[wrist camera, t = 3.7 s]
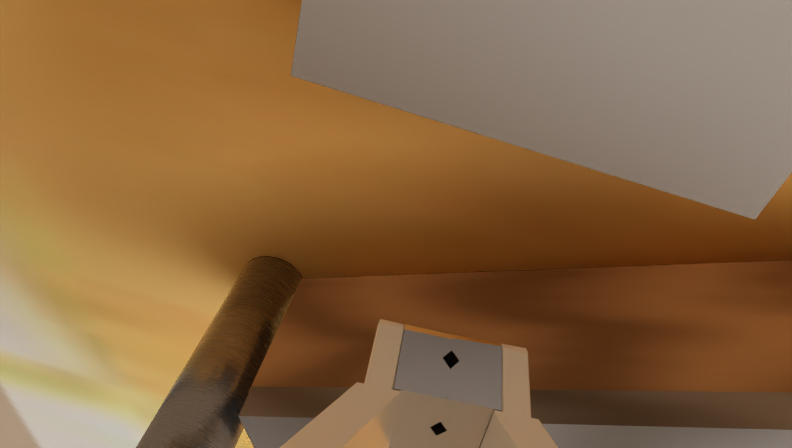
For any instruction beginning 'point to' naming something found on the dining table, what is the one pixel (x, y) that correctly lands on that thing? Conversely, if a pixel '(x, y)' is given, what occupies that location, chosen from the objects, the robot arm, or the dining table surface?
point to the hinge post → (225, 361)
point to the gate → (564, 349)
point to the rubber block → (582, 81)
